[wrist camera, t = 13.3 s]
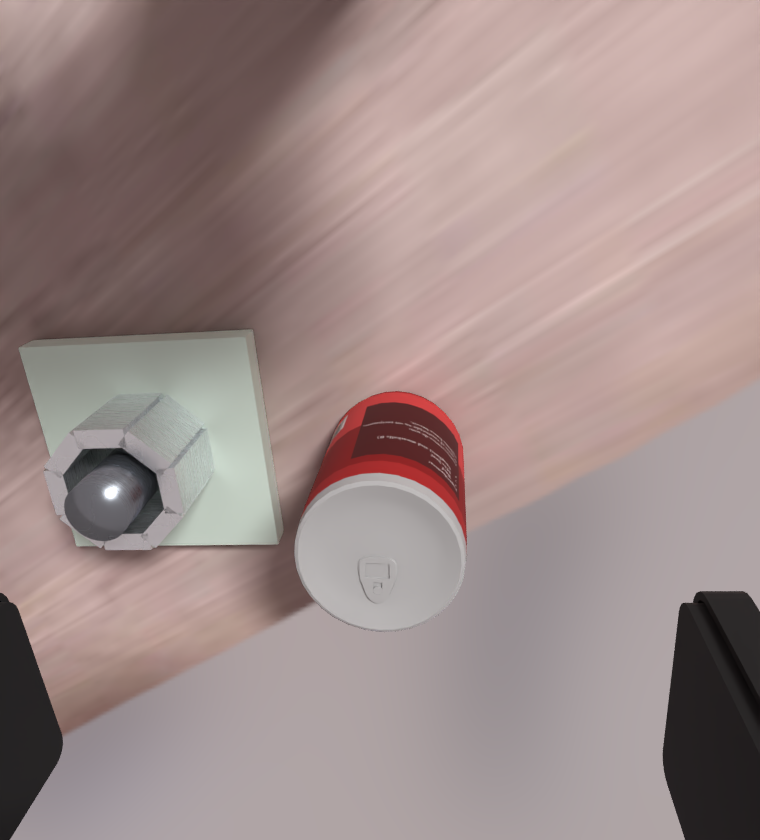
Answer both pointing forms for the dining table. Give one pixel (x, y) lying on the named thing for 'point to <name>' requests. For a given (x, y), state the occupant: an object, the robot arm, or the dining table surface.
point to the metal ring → (149, 443)
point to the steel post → (110, 496)
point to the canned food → (386, 516)
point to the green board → (194, 390)
